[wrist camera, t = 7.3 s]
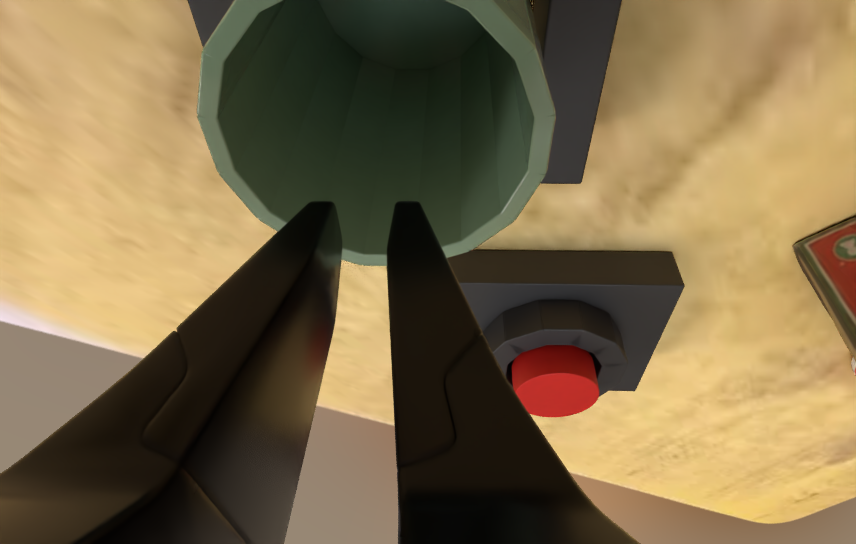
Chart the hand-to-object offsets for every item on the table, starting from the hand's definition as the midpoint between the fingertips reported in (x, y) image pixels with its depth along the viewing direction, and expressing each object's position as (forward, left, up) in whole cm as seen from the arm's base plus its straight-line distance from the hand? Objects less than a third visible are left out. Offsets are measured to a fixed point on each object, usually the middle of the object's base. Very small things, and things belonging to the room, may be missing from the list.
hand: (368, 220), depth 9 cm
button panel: (-6, +17, -12) cm, 22 cm away
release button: (-6, +17, -8) cm, 20 cm away
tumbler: (0, 0, -12) cm, 12 cm away
